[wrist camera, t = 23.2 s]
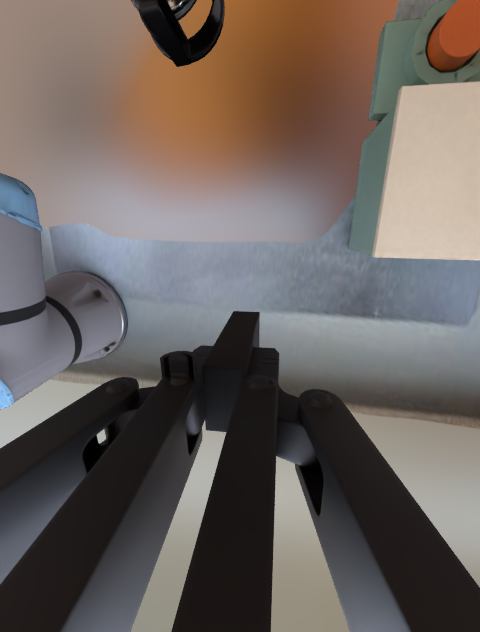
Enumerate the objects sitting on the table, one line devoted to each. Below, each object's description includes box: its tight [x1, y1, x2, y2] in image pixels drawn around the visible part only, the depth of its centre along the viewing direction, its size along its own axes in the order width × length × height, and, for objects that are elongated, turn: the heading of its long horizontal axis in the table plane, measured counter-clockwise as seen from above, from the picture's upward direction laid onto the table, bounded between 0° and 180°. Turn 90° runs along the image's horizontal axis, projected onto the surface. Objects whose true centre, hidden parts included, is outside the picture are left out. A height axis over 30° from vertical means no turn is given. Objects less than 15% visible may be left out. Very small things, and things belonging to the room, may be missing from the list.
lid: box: [372, 81, 480, 260], centre depth 23 cm, size 14×13×1 cm
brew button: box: [427, 0, 480, 71], centre depth 25 cm, size 4×4×2 cm
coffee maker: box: [348, 105, 396, 256], centre depth 29 cm, size 13×13×11 cm
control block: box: [368, 0, 480, 120], centre depth 28 cm, size 12×9×4 cm
